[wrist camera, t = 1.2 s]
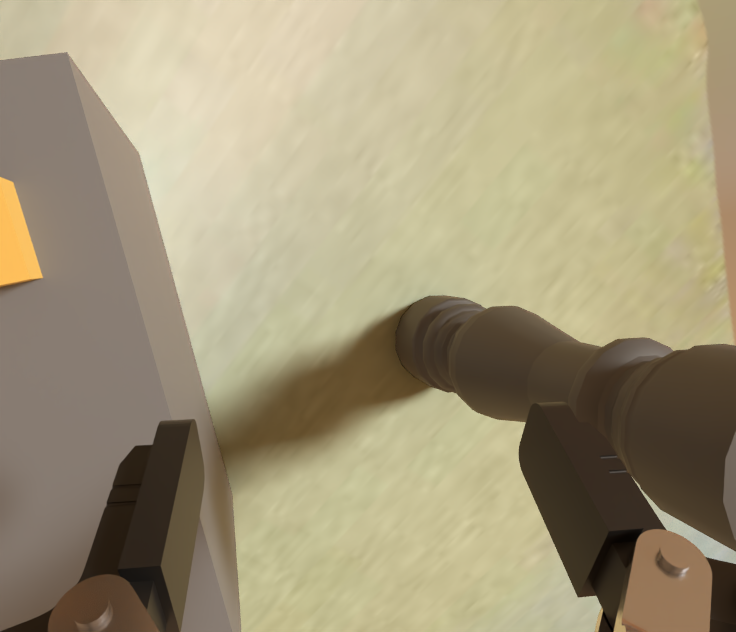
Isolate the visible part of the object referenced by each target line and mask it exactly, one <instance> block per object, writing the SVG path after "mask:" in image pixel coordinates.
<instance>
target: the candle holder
mask: <svg viewBox="0 0 736 632" xmlns="http://www.w3.org/2000/svg"><path fill="white" fill-rule="evenodd" d="M396 351H397V354H398V356H399V359H400V361H401V363H402V366H404V367H405V368H406V369H407V370H408V371H409V372H410V373H411V374H412V375H413V376H414V377H416V378H417V379H419V380H421V381H422V382H424V383H426V384H428V385H429V386H431V387H434V388H437V389H439V390H442V391H445V392H454V393H457V394H458V396H459V397H460V398H461V399H462V400H463V401H464V402H465V403H466V404H467V405H468V406H469V407H470V408H471V409H472V410H474V411H476V412H477V413H480V414H483V415H486V416H489V417H491V418H494V419H499V420H509V421H520V422H526V420H527V417H528V413H529V410H530V407H531V405H532V404H534V403H546V402H565V403H567V404H568V405H569V407H570V408H571V410H572V412H573V413H574V415H575V417H576V418H577V420H578V421H579V422H588V423H590V424H591V425H592V426H593V427H594V428H596V429H597V430H598V431H599V432H600V433H601V434H603V435H604V436H605V437H606V438H607V440H608V441H609V443H610V444H611V446H612V447H613V449H614V451H615V452H616V454H617V458H620V460H621V461H622V463H623V464H624V466H625V467H626V469H627V470H626V471H627V473H629V474H630V475H631V476H632V477H633V478H634V479H635V481H636V482H637V483H638V484H639V485H640V487H641V489H642V490H643V491H644V492H645V493H646V495H647V496H648V497H649V498H650V499H651V500H652V501H653V502H654V503H655V504H656V505H657V506H658V507H659V508H660V509H661V510H662V511H664V512H666V513H668V514H669V515H671V516H673V517H675V518H677V519H678V520H680V521H682V522H684V523H686V524H687V525H689V526H691V527H693V528H695V529H696V530H698V531H700V532H702V533H704V534H705V535H707V536H709V537H711V538H713V539H714V540H716V541H718V542H720V543H722V544H723V545H725V546H727V547H729V548H731V549H732V550H734V551H736V346H733V345H727V344H714V345H700V346H694V347H692V348H690V349H688V350H676V351H673V350H672V349H671V348H670V347H668V346H665V345H663V344H661V343H659V342H656V341H654V340H652V339H650V338H628V339H617V340H615V341H613V342H611V343H609V344H607V345H605V346H604V347H599V346H595V345H590V344H586V343H581V342H579V341H577V340H576V339H574V338H572V337H571V336H569V335H568V334H566V333H564V332H563V331H561V330H560V329H558V328H556V327H555V326H553V325H552V324H550V323H549V322H547V321H546V320H544V319H543V318H541V317H539V316H538V315H536V314H534V313H532V312H529V311H527V310H525V309H522V308H520V307H516V306H497V307H490V308H488V309H486V308H483V307H482V306H481V305H479V304H477V303H475V302H472V301H470V300H467V299H465V298H458V297H451V296H428V297H426V298H423V299H421V300H419V301H417V302H415V303H413V304H412V305H411V307H410V308H409V309H408V310H407V311H406V312H405V313H404V314H403V315H402V317H401V320H400V322H399V325H398V328H397V330H396Z"/></svg>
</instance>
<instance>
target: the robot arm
mask: <svg viewBox="0 0 736 632" xmlns="http://www.w3.org/2000/svg"><path fill="white" fill-rule="evenodd" d="M519 462H520V467H521V470H522V473H523V475H524V477H525V479H526V482H527V484H528V486H529V488H530V491H531V493H532V495H533V497H534V500H535V502H536V504H537V506H538V509H539V511H540V513H541V515H542V518H543V520H544V522H545V524H546V527H547V529H548V531H549V533H550V536H551V538H552V540H553V542H554V544H555V547H556V549H557V551H558V553H559V556H560V558H561V560H562V562H563V565H564V567H565V569H566V571H567V574H568V576H569V578H570V580H571V583H572V585H573V587H574V589H575V592H576V594H577V596H578V597H586V596H597V598H598V600H599V602H600V604H601V606H602V608H601V610H600V612H599V615H598V619H597V623H596V627H595V632H736V564H733V563H728V562H724V561H719V560H714V559H711V558H707V557H705V556H704V555H703V553H702V552H701V551H700V550H699V549H698V548H697V547H696V546H695V545H694V544H692V543H691V542H690V541H689V540H687V539H685V538H684V537H682V536H680V535H678V534H676V533H673V532H671V531H667V530H666V529H665V527H664V526H663V524H662V523H661V521H660V520H659V518H658V517H657V515H656V514H655V512H654V511H653V509H652V507H651V506H650V504H649V503H648V501H647V500H646V498H645V497H644V495H643V494H642V492H641V491H640V489H639V487H638V486H637V484H636V483H635V481H634V480H633V478H632V477H631V475H630V474H629V473H627V471H626V470H627V469H626V467H625V466H624V464H623V463H622V461H621V460H620V458H617V454H616V452H615V451H614V449H613V447H612V446H611V444H610V443H609V441H608V440H607V438H606V437H605V436H604V435H603V434H601V433H600V432H599V431H598V430H597V429H596V428H594V427H593V426H592V425H591V424H590V423H588V422H579V421H578V420H577V418H576V417H575V415H574V413H573V412H572V410H571V408H570V407H569V405H568V404H567V403H565V402H546V403H534V404H532V405H531V407H530V410H529V413H528V417H527V420H526V424H525V428H524V431H523V435H522V438H521V442H520V446H519ZM204 480H205V473H204V462H203V456H202V451H201V445H200V440H199V434H198V429H197V424H196V421H195V419H185V420H165V421H160V422H159V424H158V427H157V431H156V434H155V438H154V441H153V445H138V446H135V447H134V448H133V449H132V450H131V451H130V452H129V454H128V455H127V456H126V457H125V458H124V460H123V461H122V462H121V463H120V464H119V467H118V470H117V473H116V476H115V479H114V482H113V485H112V490H111V491H110V494H109V497H108V500H107V506H106V507H105V508H104V511H103V514H102V517H101V520H100V523H99V526H98V529H97V532H96V535H95V538H94V541H93V544H92V547H91V550H90V553H89V556H88V559H87V562H86V565H85V568H84V571H83V573H82V576H81V578H80V580H79V581H78V583H77V585H75V586H74V587H72V588H71V589H70V590H69V591H68V592H66V593H65V594H64V595H63V597H62V598H61V599H60V600H59V601H58V603H57V604H56V606H55V607H54V608H52V609H51V610H49V611H47V612H46V613H44V614H42V615H40V616H38V617H36V618H33V619H31V620H28V621H26V622H23V623H20V624H18V625H15V626H13V627H10V628H7V629H5V630H2V631H0V632H181V627H182V621H183V615H184V609H185V602H186V596H187V590H188V584H189V578H190V572H191V566H192V560H193V553H194V547H195V541H196V535H197V529H198V523H199V517H200V510H201V504H202V498H203V492H204Z"/></svg>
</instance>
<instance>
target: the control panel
mask: <svg viewBox="0 0 736 632" xmlns="http://www.w3.org/2000/svg"><path fill="white" fill-rule="evenodd" d="M185 419H195V421H196V424H197V429H198V434H199V440H200V445H201V451H202V456H203V462H204V473H205V480H204V492H203V498H202V504H201V510H200V517H199V523H198V529H197V535H196V541H195V547H194V553H193V560H192V566H191V572H190V578H189V584H188V590H187V596H186V602H185V609H184V615H183V621H182V627H181V632H241V618H240V603H239V588H238V573H237V558H236V542H235V527H234V512H233V497H232V492H231V488H230V485H229V481H228V477H227V474H226V470H225V466H224V463H223V459H222V455H221V452H220V448H219V444H218V441H217V437H216V433H215V430H214V426H213V422H212V419H211V415H210V411H209V408H208V404H207V400H206V397H205V393H204V389H203V386H202V382H201V378H200V375H199V371H198V367H197V364H196V360H195V356H194V353H193V349H192V346H191V342H190V338H189V335H188V331H187V327H186V324H185V320H184V316H183V313H182V309H181V305H180V302H179V298H178V294H177V291H176V287H175V283H174V280H173V276H172V272H171V269H170V265H169V261H168V258H167V254H166V250H165V247H164V243H163V239H162V236H161V232H160V228H159V225H158V221H157V217H156V214H155V210H154V206H153V203H152V199H151V195H150V192H149V188H148V185H147V181H146V177H145V174H144V170H143V166H142V163H141V159H140V155H139V153H138V151H137V150H136V149H135V147H134V146H133V144H132V143H131V142H130V140H129V139H128V137H127V136H126V135H125V133H124V132H123V130H122V129H121V128H120V126H119V125H118V123H117V122H116V121H115V119H114V118H113V116H112V115H111V114H110V112H109V111H108V109H107V108H106V106H105V105H104V104H103V102H102V101H101V99H100V98H99V97H98V95H97V94H96V92H95V91H94V90H93V88H92V87H91V85H90V84H89V83H88V81H87V80H86V78H85V77H84V76H83V74H82V73H81V71H80V70H79V69H78V67H77V66H76V64H75V63H74V61H73V60H72V59H71V57H70V56H69V54H68V53H67V52H66V53H58V54H49V55H41V56H33V57H24V58H16V59H7V60H0V631H2V630H5V629H7V628H10V627H13V626H15V625H18V624H20V623H23V622H26V621H28V620H31V619H33V618H36V617H38V616H40V615H42V614H44V613H46V612H47V611H49V610H51V609H52V608H54V607H55V606H56V604H57V603H58V601H59V600H60V599H61V598H62V597H63V595H64V594H65V593H66V592H68V591H69V590H70V589H71V588H72V587H74V586H75V585H77V583H78V581H79V580H80V578H81V576H82V573H83V571H84V568H85V565H86V562H87V559H88V556H89V553H90V550H91V547H92V544H93V541H94V538H95V535H96V532H97V529H98V526H99V523H100V520H101V517H102V514H103V511H104V508H105V507H106V506H107V500H108V497H109V494H110V491H111V490H112V485H113V482H114V479H115V476H116V473H117V470H118V467H119V464H120V463H121V462H122V461H123V460H124V458H125V457H126V456H127V455H128V454H129V452H130V451H131V450H132V449H133V448H134V447H135V446H138V445H153V441H154V438H155V434H156V431H157V427H158V424H159V422H160V421H165V420H185Z"/></svg>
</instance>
